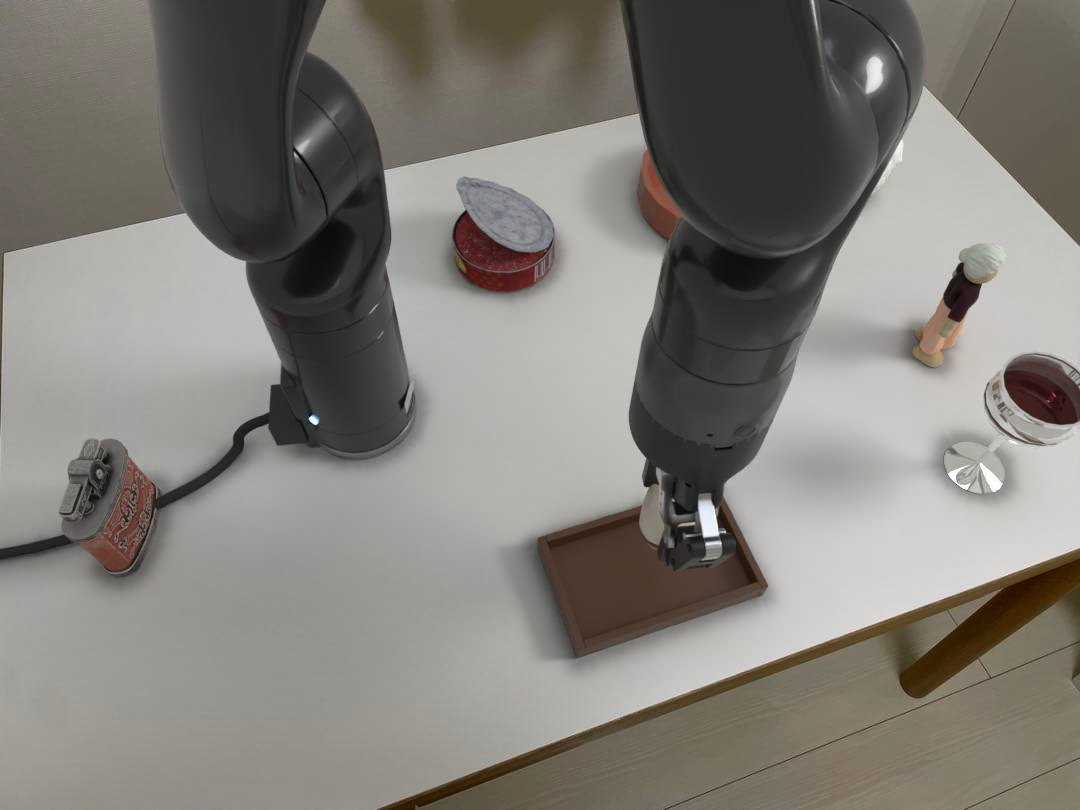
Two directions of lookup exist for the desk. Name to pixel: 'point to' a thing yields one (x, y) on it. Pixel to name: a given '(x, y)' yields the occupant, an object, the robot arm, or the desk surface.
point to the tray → (637, 581)
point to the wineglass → (1019, 416)
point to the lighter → (109, 506)
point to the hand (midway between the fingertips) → (665, 518)
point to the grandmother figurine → (957, 301)
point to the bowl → (656, 200)
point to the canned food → (501, 238)
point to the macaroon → (652, 518)
